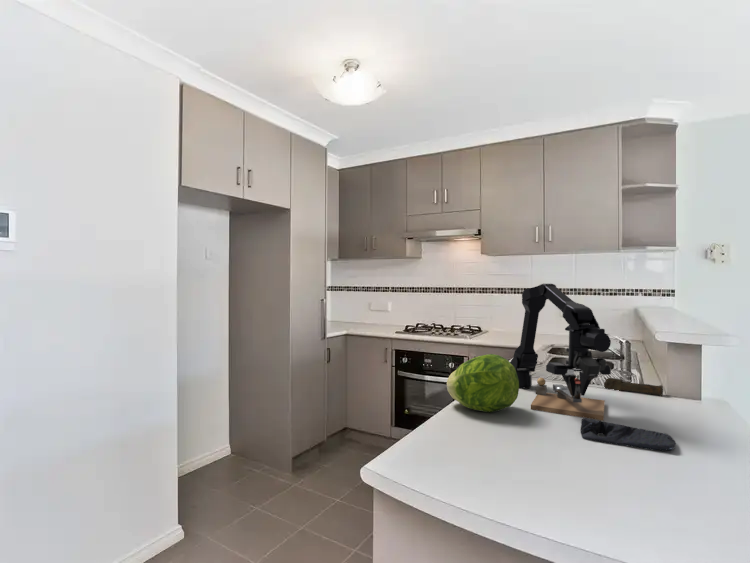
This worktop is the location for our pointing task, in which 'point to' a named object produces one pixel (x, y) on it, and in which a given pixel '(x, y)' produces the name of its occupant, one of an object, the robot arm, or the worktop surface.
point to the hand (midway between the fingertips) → (577, 395)
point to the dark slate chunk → (625, 435)
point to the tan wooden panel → (566, 404)
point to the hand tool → (633, 386)
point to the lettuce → (484, 383)
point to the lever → (566, 393)
